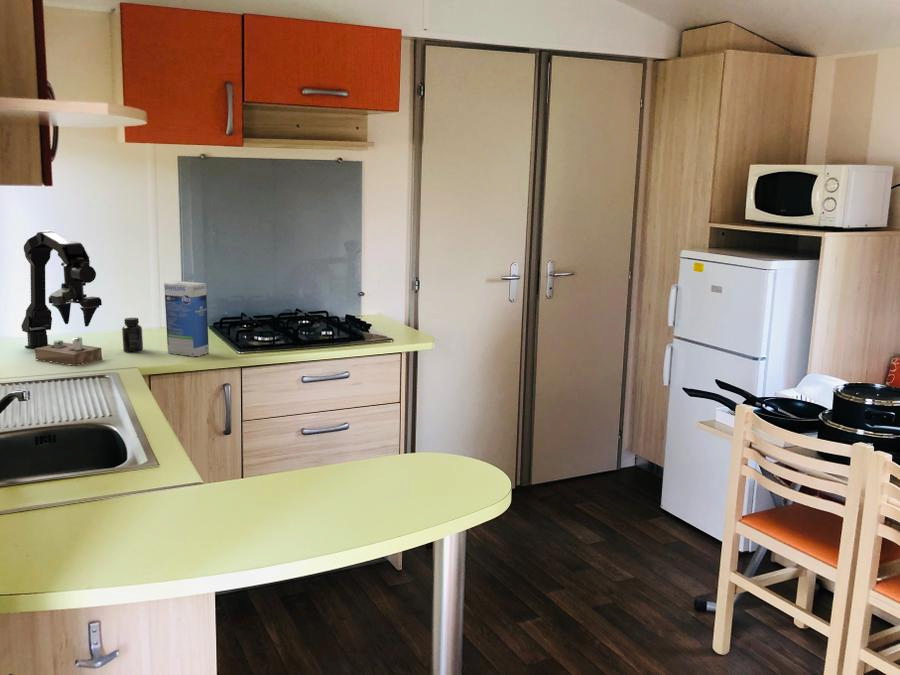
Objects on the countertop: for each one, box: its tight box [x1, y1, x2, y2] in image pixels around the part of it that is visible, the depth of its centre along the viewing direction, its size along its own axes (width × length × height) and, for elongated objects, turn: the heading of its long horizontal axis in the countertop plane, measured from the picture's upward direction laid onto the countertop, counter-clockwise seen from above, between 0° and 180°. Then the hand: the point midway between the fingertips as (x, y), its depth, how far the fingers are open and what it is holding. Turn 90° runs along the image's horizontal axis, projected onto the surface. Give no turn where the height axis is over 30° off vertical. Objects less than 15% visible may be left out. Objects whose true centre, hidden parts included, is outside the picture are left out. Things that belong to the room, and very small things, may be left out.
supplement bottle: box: [121, 317, 144, 353], centre depth 314 cm, size 7×7×12 cm
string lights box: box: [163, 280, 210, 357], centre depth 310 cm, size 13×8×26 cm, turn 68°
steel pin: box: [71, 336, 83, 351], centre depth 297 cm, size 3×3×8 cm
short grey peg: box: [53, 339, 64, 349], centre depth 301 cm, size 3×3×6 cm
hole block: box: [34, 341, 103, 366], centre depth 299 cm, size 12×18×4 cm, turn 66°
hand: (76, 325), depth 295 cm, fingers open, 9 cm apart
